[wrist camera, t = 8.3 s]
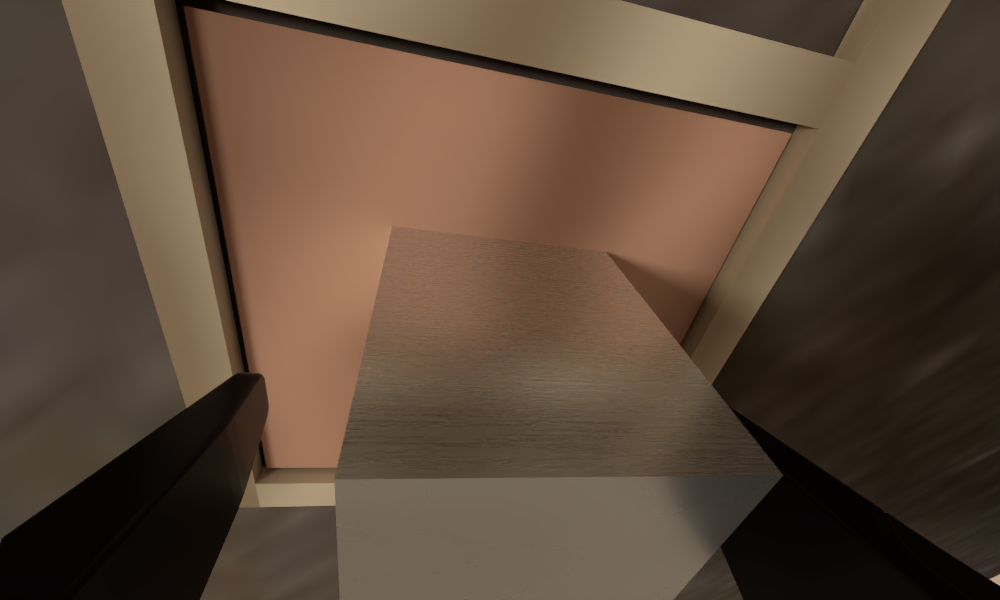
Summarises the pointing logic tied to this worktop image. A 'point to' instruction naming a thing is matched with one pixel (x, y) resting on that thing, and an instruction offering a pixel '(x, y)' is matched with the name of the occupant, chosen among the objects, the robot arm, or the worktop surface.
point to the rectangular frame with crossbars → (457, 171)
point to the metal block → (530, 434)
